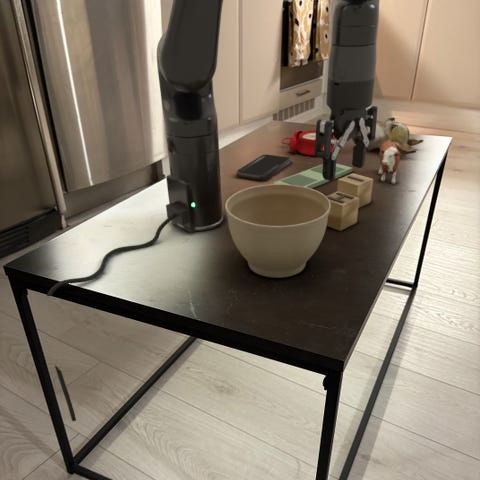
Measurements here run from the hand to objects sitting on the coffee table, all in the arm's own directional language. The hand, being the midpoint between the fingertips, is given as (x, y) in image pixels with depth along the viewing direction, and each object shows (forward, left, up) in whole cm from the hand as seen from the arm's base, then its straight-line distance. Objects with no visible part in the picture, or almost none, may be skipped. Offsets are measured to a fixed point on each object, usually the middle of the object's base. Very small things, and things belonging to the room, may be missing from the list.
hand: (343, 173), depth 91 cm
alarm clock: (+31, +34, -10) cm, 47 cm away
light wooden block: (0, 0, -10) cm, 10 cm away
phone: (+12, +32, -10) cm, 35 cm away
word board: (+15, +19, -10) cm, 26 cm away
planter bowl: (-20, -3, -10) cm, 23 cm away
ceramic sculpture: (+44, +18, -10) cm, 48 cm away
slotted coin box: (+10, +4, -10) cm, 14 cm away
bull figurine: (+26, +7, -10) cm, 29 cm away
